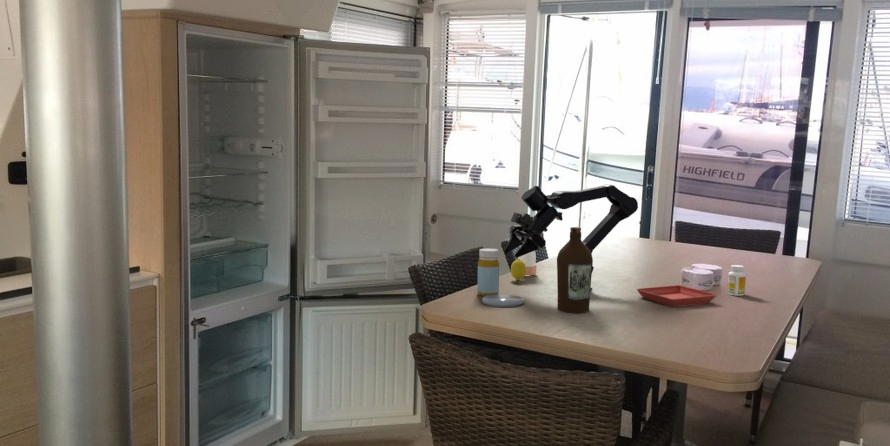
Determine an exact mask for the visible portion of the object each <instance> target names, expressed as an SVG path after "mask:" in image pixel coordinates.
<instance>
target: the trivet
mask: <svg viewBox="0 0 890 446" xmlns="http://www.w3.org/2000/svg"><path fill="white" fill-rule="evenodd" d="M482 303H483V304H484V305H486V304H487V306H491V307H496V308H497V307H498V308H512V307H513V308H514V307H520V306H522V305H525V298H524V297H523V296H519V295H515V294H505V293H504V294H502V293H500V294H499V293H498V294H495V295H487V296H482Z"/></svg>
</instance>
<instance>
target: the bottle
mask: <svg viewBox="0 0 890 446" xmlns="http://www.w3.org/2000/svg"><path fill="white" fill-rule="evenodd" d="M476 289H477V291H476V292H477V294H478V295H479V296H480V295H482V296H481V297H484V296H487V295H495V294H499V291H500V262H499V249H498V248H491V247H490V248H489V247H488V248H487V247H486V248H480V249H479V259H478V261H477V288H476Z"/></svg>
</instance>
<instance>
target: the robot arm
mask: <svg viewBox="0 0 890 446" xmlns="http://www.w3.org/2000/svg"><path fill="white" fill-rule="evenodd" d="M605 198H606V200H608V201H609V203H611V205H610V208H609V211H608V213H607V214H606V216H605V217H604V218H603V219H602V220H601V221H600V222H599V223H598V224H597V225H596V226H595V227H594V228H593V230H592V231H590V233H588V235H587V236H586V237H585V238H584V239H583V240H581V241H582V242H583V243H584V245H585V246H586V247H587V248H588V249H589V250H590V252H591V254H592V255H593V251H594V250H595V249H596V248H597V246H599V245H600V244H601V242H602V241H604V239H605V238H606V237H607V236H608V235H609V234H610V233H611V232H612V230H614V228H615V227H616V226H617V225H618V224H619V223H620V222H621V221H623V220H626V219H627V218H630V217H631V216H632V215H634V214H635V213H636V212H637V211H638V209H639V202H638V200H637V199H636V198H635V197H632V196H630V195H628V194H626V193H625V192H623V191H622V190H621V189H619V188H618V187H616V186H615V185H613V184H604V185H600V186H595V187H590V188H584V189H580V190H579V189H578V190H573V191H572V190H571V191H570V190H568V191H567V190H555V191H553V192H552V193H551V194H547V195H546V194H545V193H544V192H543V191H542V190H541V188H540V186H539V185H534V186H533V187H531V188H529V189H528V190H526V191H525V192H524V193H523V194H522V196H521V200H522V201H523V203H524V204H526V206H527V207H528V208H529V210H530V211H532V212H535V211H536V212H537V213H536V214H535V215H534V216H531V214H529V213H526V212H525V213H523V214H522V213H518V212H515V211H514V212H513V214H512V216H511V219H510V222H512V223H516V224H517V225H511V226H510V227H509V228H508V231H509V236H510V237H509V239H508V242H507V244H506V246H505V248H504V251H503V253H504V254H508V253H510V252H512V251H514V250H515V249H517V248H518V249H517V251H515V254H514V257H515V258H516V259H518V257H520V256H523V255H525V254H527V253H530V252H532V251H535V252H536V251H539V250H540V249H541V250H542V249H543V248H544V247H545V246H546V245H547V244H546V242H547V241H546V240H545V237H543V236H542V234H543V233H545V232H547V231H548V230H549V229H548V227H549V226H550V225H551V224H552V223H553V222H554V221H555V220H557V221H559V222H560V221H561V222H562V221H563V212H562V211H558V210H557V209H560V210H568V209H569V208H572V207H575V206H576V205H577V204H581V203H583V202H584V203H585V202H589V201H594V200H599V199H605ZM549 204H550V205H551V206H550V205H549ZM523 242H524V243H523ZM520 246H521V247H520ZM594 267H595V266H593V265H592V273H593V271H594ZM591 290H593V287H591V288H590V291H591Z"/></svg>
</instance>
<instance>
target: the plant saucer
mask: <svg viewBox="0 0 890 446" xmlns="http://www.w3.org/2000/svg"><path fill="white" fill-rule="evenodd" d="M636 291H637V292H638V293H639V295H640V296H641V297H642V298H644V299H646V300H649V301H651V302H652V301H653V302H656V303H659V304H662V305H665V306H668V307H673V308H675V307H685V306H694V305H703V304H704V305H705V304H709V303H710V302H712V301H713V299H715V298H716V297H717V294H715V293H712V292H707V291H705V290H704V291H703V290H701V289H696V288H692V287H688V286H685V285H680V284H678V285H675V284H674V285H667V286H666V285H665V286H664V285H663V286H655V287H642V288H636Z"/></svg>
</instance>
